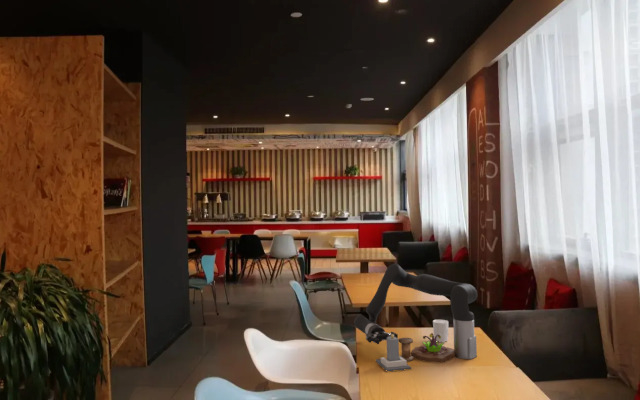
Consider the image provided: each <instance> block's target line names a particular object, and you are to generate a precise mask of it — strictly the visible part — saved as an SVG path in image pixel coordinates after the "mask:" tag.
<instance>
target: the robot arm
mask: <svg viewBox="0 0 640 400" xmlns="http://www.w3.org/2000/svg"><path fill="white" fill-rule="evenodd" d="M391 284H393V285H395V286H398V287H402V288H408V289H413V290H415V291H419V292H421V293H424V294H427V295H432V296H443V297H444V296H446V297H450V307H451V308H450V309H451V314H452V316H453V317H452V318H453V319H452V320H453V349H454V352H455V358H458V359H464V360H472V359H475V358H476V357H477V356H478V354H477V353H478V352H477V336H476V335H475V314H474V313H473V312H472V311H470V308H469V304H472V303H474V302H475V301H476V300H477V298H478V295H479V293H478V291H477V289H476V287H474V285H472V284H470V283H463V282H456V281H451V280H449V279H445V278H441V277H438V276H434V275H431V274H427V273H421V274H418V275H417V274H416V275H414V274H412V273H409V272H407V271H405V269H403V268H402V267H401V266H400V265H399V264H398V263H392V264H390V265H389V266H388V267H387V268H386V270H385V272H384V274H383V276H382V278H381V281H380V283H379V285H378V287H377V290H376V291H375V294H374V295H373V297H372V299H371V300H370V302H369V304H368V305H367V306H366V309H365V312H366V313H367V314H368V316H369V318H367V317H366V316H364V315H363V314H359V315H357V316H356V317H355V318H354V319H353V320H354V321H353V324H354V327H355V328H356V329H358V330H359V331H360V332H362V333H363V334H365V340H366V341H368V343H374V344H376V345H380V343H381V342H382V341H386V342H387V337H391V334H393V335H394V337H396V338H398V333H395V332H394V331H390V332H386V330H385V329H384V328H383V327H382V326H380V325H379V324H377V323H376V321H377V319H378V316H379V315H380V313H381V312H382V310H383V308H384V306H385V305H386V301H387V296H388V291H389V288H390V286H391ZM398 339H399V338H398Z"/></svg>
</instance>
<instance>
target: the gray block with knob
mask: <svg viewBox="0 0 640 400" xmlns="http://www.w3.org/2000/svg"><path fill="white" fill-rule="evenodd" d="M390 334H391V333H390ZM399 343H400V342H399V338H396V337H394V335H393V334H391V337H387V341H386V358H387V360H388V361H398V360H399V356H400V349H399V348H400V347H399V345H400V344H399Z"/></svg>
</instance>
